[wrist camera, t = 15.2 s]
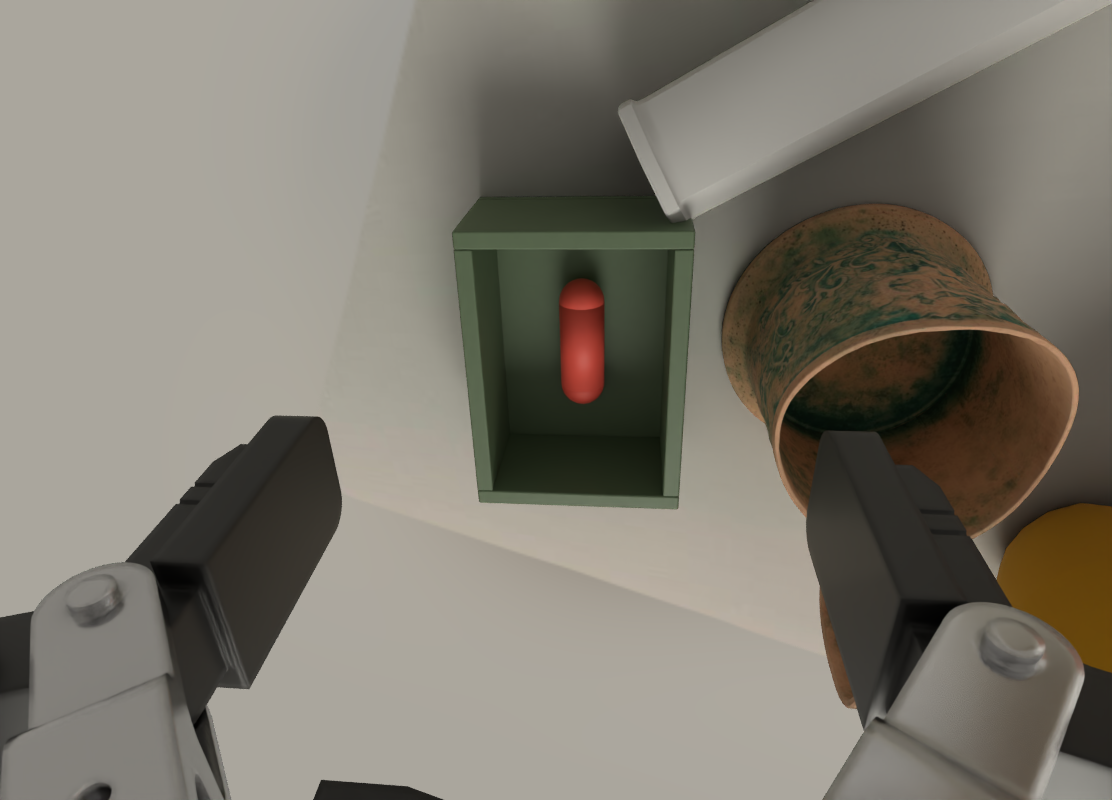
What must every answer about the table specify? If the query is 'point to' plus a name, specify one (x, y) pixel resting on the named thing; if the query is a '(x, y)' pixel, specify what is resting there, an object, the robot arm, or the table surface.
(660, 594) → the table surface
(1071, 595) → the apple
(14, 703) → the robot arm
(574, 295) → the capsule
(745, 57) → the tube
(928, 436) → the mug
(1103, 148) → the table surface
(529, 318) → the bin
